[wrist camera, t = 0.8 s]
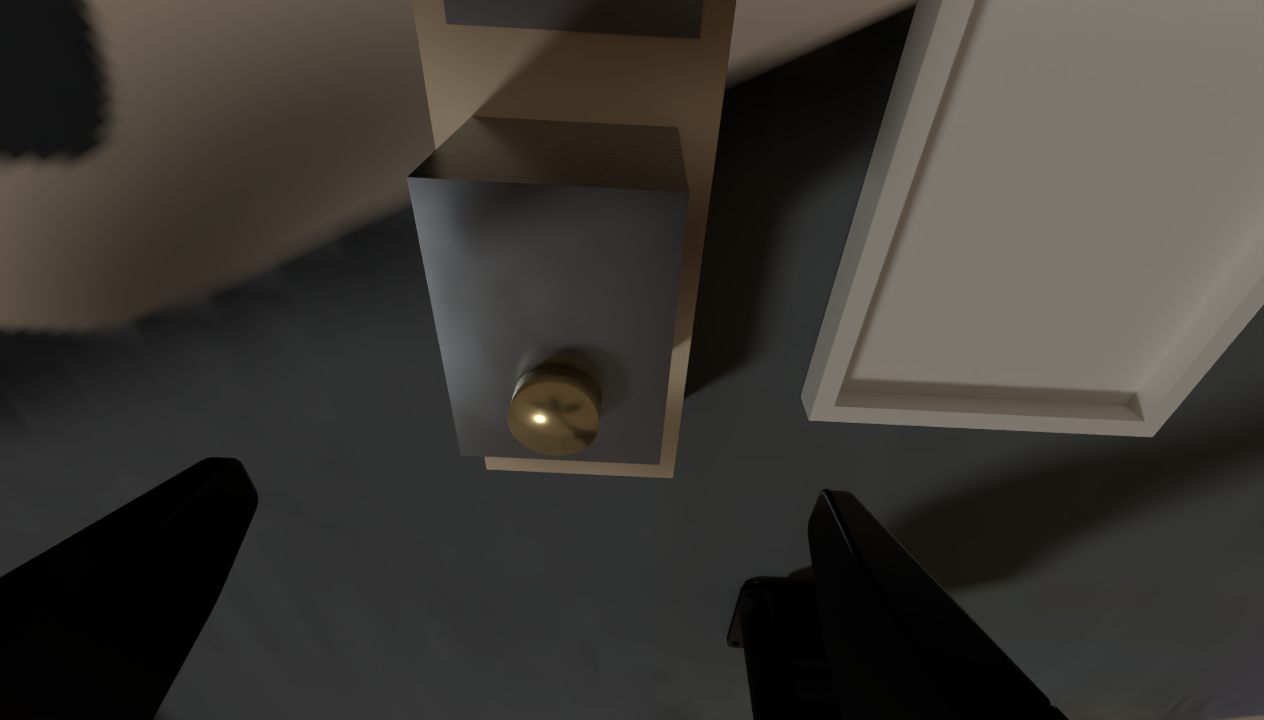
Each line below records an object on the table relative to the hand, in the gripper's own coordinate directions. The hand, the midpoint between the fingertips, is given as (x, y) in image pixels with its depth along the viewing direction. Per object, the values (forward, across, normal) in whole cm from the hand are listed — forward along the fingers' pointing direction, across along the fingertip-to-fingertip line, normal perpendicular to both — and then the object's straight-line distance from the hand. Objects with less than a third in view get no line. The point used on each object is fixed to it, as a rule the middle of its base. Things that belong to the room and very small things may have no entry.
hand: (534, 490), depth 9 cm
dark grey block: (+8, 0, 0) cm, 9 cm away
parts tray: (+12, -16, 0) cm, 20 cm away
